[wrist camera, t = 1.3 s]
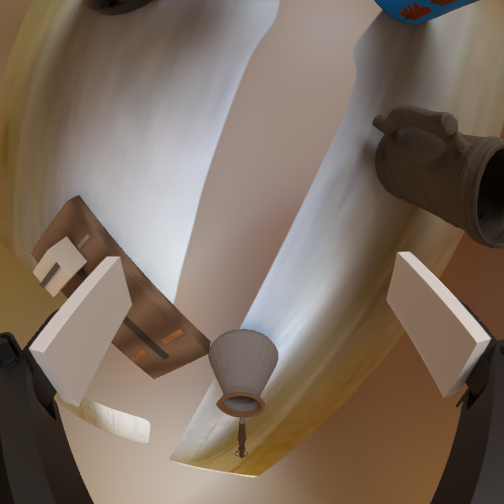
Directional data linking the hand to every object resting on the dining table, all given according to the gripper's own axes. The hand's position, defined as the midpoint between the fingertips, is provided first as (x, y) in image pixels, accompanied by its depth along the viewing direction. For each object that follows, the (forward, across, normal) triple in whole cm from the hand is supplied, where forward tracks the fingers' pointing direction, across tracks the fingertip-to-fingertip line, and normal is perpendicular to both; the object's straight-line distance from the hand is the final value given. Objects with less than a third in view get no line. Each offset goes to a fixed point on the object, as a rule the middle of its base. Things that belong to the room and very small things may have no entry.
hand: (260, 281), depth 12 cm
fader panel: (+24, -23, -17) cm, 38 cm away
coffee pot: (+24, -2, -32) cm, 41 cm away
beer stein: (+25, +19, +5) cm, 32 cm away
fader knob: (+21, -29, -9) cm, 37 cm away
